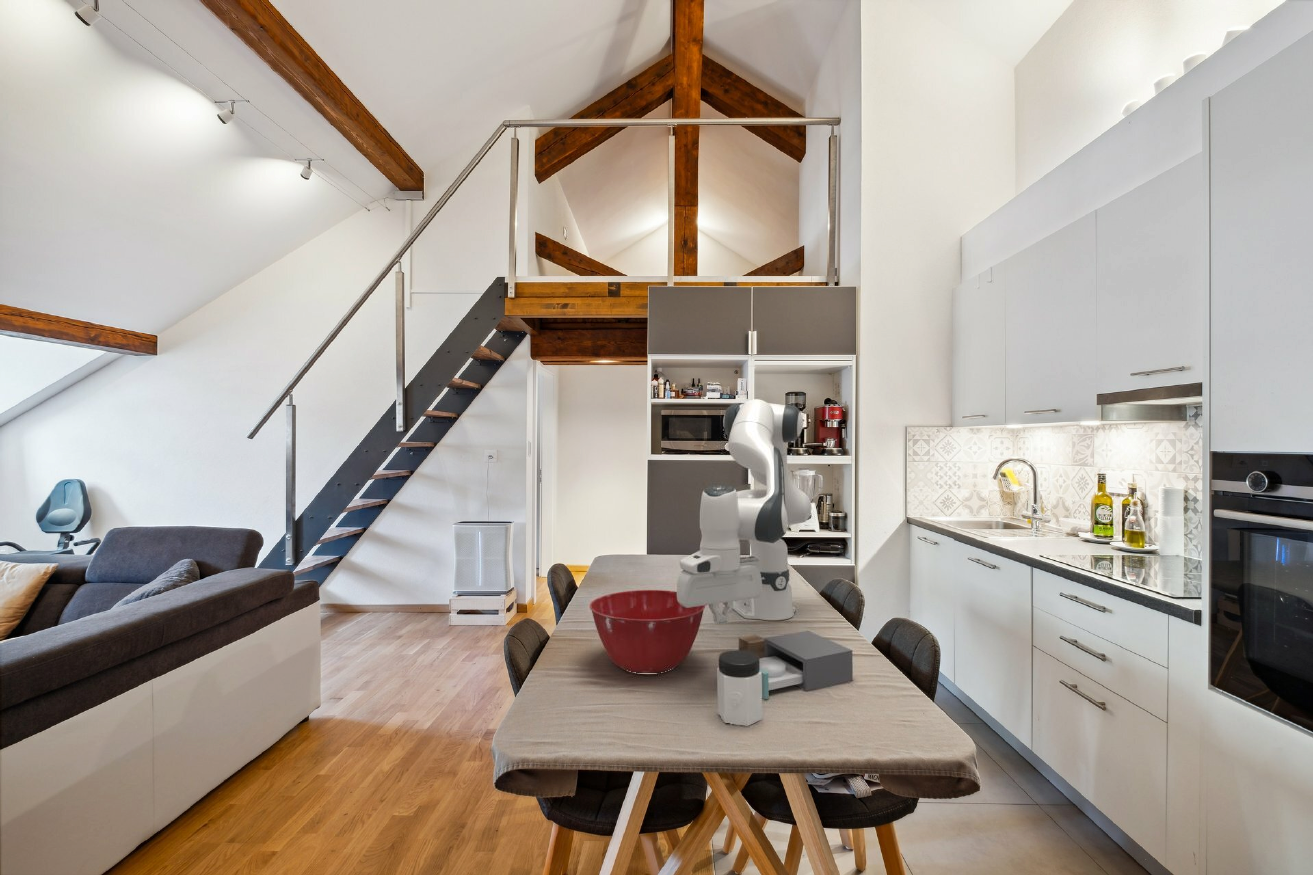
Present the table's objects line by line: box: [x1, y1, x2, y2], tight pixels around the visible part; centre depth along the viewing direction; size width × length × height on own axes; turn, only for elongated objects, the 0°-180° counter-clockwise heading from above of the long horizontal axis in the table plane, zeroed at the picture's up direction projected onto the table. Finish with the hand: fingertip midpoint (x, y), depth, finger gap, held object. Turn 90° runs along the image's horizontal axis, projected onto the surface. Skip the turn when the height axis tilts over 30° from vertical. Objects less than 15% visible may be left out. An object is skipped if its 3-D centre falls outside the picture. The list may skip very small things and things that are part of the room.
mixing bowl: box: [589, 589, 707, 674], centre depth 154 cm, size 28×28×16 cm
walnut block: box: [738, 634, 765, 659], centre depth 157 cm, size 5×5×5 cm
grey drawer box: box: [763, 630, 854, 692], centre depth 147 cm, size 16×13×7 cm
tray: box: [759, 656, 803, 700], centre depth 142 cm, size 16×13×5 cm
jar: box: [716, 649, 763, 727], centre depth 125 cm, size 9×8×12 cm
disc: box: [759, 659, 786, 678], centre depth 143 cm, size 7×7×2 cm
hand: (721, 621), depth 138 cm, fingers closed
